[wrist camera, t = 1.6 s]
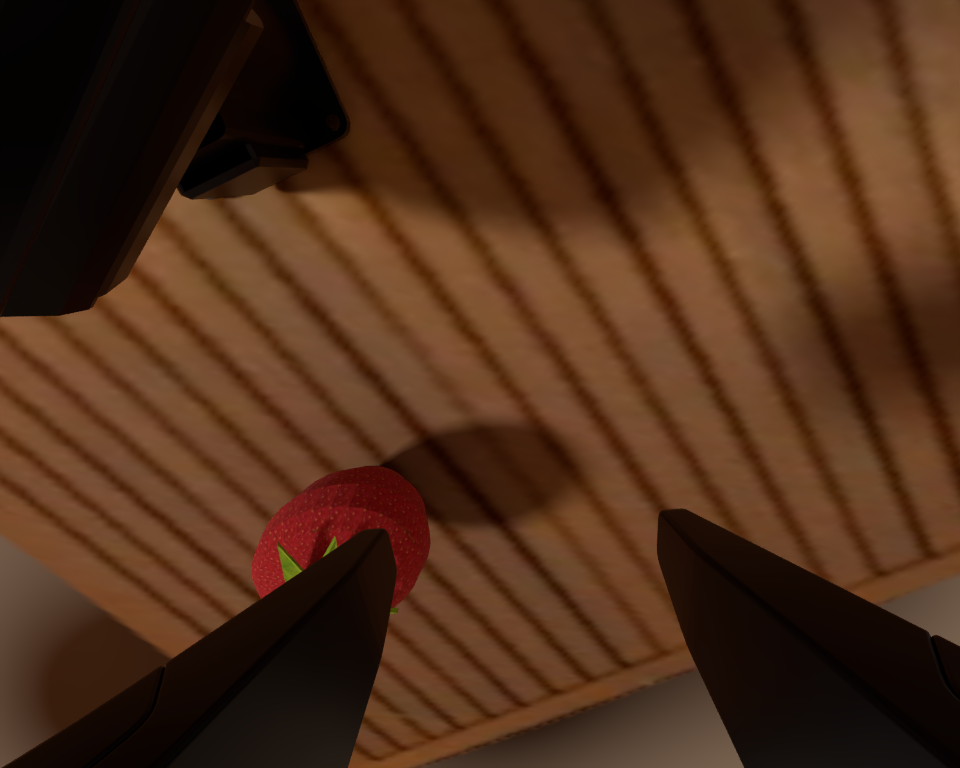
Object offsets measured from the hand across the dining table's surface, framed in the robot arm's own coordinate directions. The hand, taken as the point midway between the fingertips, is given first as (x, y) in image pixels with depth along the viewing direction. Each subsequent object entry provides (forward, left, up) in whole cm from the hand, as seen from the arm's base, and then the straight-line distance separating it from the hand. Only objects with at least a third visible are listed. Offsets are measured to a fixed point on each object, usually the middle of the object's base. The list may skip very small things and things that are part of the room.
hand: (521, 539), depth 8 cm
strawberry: (+5, -9, -13) cm, 17 cm away
